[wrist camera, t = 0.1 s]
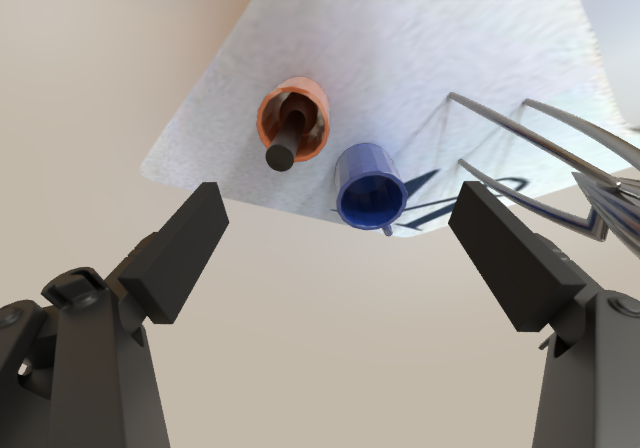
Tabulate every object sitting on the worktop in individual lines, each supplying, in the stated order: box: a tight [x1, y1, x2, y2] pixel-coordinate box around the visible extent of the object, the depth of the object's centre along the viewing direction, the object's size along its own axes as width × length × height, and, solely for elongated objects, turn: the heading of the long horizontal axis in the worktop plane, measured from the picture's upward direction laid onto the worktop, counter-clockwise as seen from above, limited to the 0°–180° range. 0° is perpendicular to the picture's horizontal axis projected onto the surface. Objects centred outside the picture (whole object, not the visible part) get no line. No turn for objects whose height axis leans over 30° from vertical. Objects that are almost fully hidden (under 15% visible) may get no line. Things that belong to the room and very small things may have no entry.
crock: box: [257, 77, 330, 162], centre depth 31 cm, size 8×8×9 cm
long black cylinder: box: [266, 94, 317, 172], centre depth 27 cm, size 5×5×17 cm
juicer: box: [448, 92, 640, 259], centre depth 22 cm, size 10×11×30 cm
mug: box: [335, 143, 407, 236], centre depth 37 cm, size 13×9×10 cm
